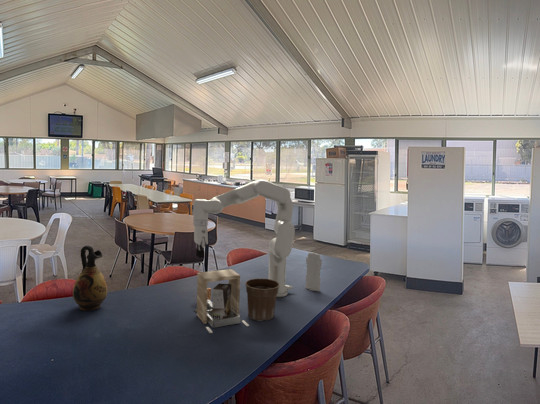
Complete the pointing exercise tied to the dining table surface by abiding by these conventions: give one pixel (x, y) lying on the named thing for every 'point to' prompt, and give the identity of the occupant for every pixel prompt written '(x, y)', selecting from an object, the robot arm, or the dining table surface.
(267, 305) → the plant pot
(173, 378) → the dining table surface
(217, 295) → the coffee box
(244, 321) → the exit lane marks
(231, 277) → the tunnel
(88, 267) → the ceramic jug
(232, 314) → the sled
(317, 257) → the tall pale column
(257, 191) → the robot arm
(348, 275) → the dining table surface
